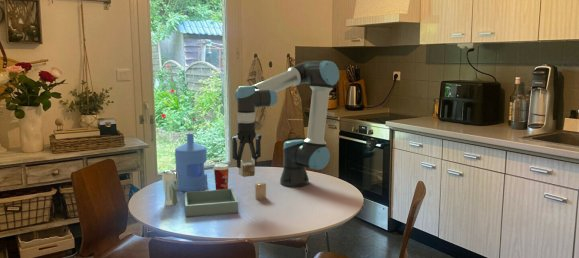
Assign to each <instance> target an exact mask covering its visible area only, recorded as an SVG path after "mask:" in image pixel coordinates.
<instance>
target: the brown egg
mask: <svg viewBox="0 0 579 258" xmlns="http://www.w3.org/2000/svg"><path fill="white" fill-rule="evenodd" d="M254 185H255V186H254V187H255V200H256V201H257V200H258V201H263V200H266V199H267V184H266V182H256V183H255V184H254Z"/></svg>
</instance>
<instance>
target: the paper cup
mask: <svg viewBox="0 0 579 258" xmlns="http://www.w3.org/2000/svg"><path fill="white" fill-rule="evenodd" d="M212 168H213V172H214V181H215V182H214V183H215V190H220V189H229V170H230V167H229V164H226V163H216V164H214V166H213V167H212Z"/></svg>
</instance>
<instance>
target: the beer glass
mask: <svg viewBox="0 0 579 258" xmlns="http://www.w3.org/2000/svg"><path fill="white" fill-rule="evenodd" d="M161 176H162V177H161V180H162V189H163V192H164V205H165V206H166V207H172V206H173V207H174V206H177V205H179V200H178V191H179V190H178V173H177V171H176V169H175V170H174V169H170V170H164V171H162V175H161Z"/></svg>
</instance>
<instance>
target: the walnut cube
mask: <svg viewBox="0 0 579 258" xmlns="http://www.w3.org/2000/svg"><path fill="white" fill-rule="evenodd" d="M254 176H255V174H254V164H252V163H251V161H249V162H243V175H242V176H241V177H244V178H246V177H254Z"/></svg>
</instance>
